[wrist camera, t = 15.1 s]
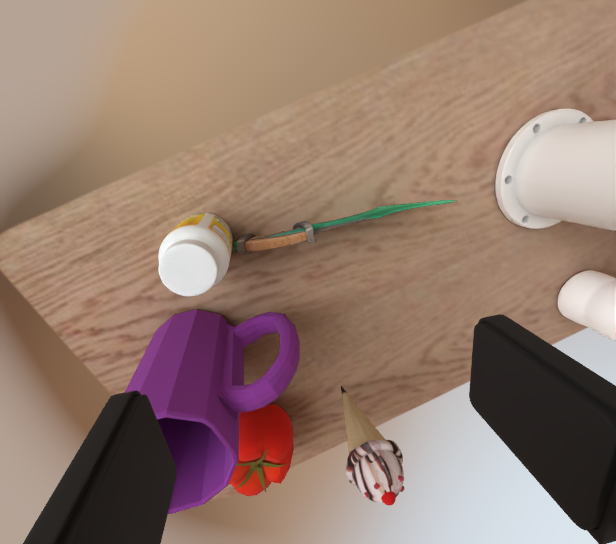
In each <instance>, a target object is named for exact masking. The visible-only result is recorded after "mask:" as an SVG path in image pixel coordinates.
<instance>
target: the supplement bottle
mask: <svg viewBox="0 0 616 544" xmlns="http://www.w3.org/2000/svg"><path fill="white" fill-rule="evenodd" d="M232 244H233V238H232V233H231V231H230V229H229V227H228V225H227V224H226V223H225V222H224V221H223V220H222V219H221V218H219V217H217V216H215V215H213V214H209V213H197V214H193V215H191V216H189V217H187V218H186V219H184V220H183V221H182V222H181V223H180V224H179V225H178V226H177V227H176V228H175V229H174V230H173V231H171V232H170V233H169V234H168V235H167V236H166V238H165V239H164V240H163V242H162V244H161V246H160V249H159V274H160V278H161V280H162V282H163V283H164V285H165V286H166V287H167V288H168V289H169V290H171V291H172V292H174V293H176V294H179V295H182V296H197V295H200V294H203V293H205V292H206V291H208V290H209V289H210V288H211V287H212V286H214V285H216V284H217V283H218V282H220V281H221V280H222V278H223V277H224V276H225V274H226V272H227V270H228V267H229V263H230V257H231V251H232Z"/></svg>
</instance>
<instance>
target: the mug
mask: <svg viewBox="0 0 616 544" xmlns="http://www.w3.org/2000/svg"><path fill="white" fill-rule="evenodd" d="M277 332H279V335H280V351H279V354H278V357H277V359H276V360H275V362H274V363H273V365H272V366H271V367H270V369H269V370H268V371H267V372H266V373H265V375H264V376H263V377H261V378H260V379H258V380H257V381H255V382H254V383H252V384H249V385H244V360H243V348H244V347H245V346H247V345H249V344H251V343H254V342H255V341H256V340H258V339H259V338H260V337H262V336H263V335H267V334H271V333H277ZM298 362H299V338H298V334H297V331H296V328H295V325H294V324H293V323H292V322H291V321H290V319H289V318H288V317H287V316H286V315H285V314H283V313H274V312H267V313H264V314H260V315H257V316H255V317H252V318H250V319H248V320H246V321H244V322H242V323H240V324H239V325H237V326H231V325H229V324H228V322H227V321H226V319H225V318H223V317H222V316H221V315H219V314H215V313H211V312H207V311H203V310H199V309H196V310H192V311H188V312H183V313H179V314H175V315H173V316H172V317H171V318H170V319H169V320H167V321H166V322H165V323H164V324H163V325H162V326H161V327H159V328H158V329H157V331H156V332H155V334H154V336H153V338H152V340H151V342H150V344H149V346H148V348H147V350H146V352H145V354H144V356H143V358H142V360H141V362H140V364H139V366H138V368H137V369H136V371H135V373H134V375H133V377H132V379H131V381H130V383H129V385H128V387H127V389H126V391H125V392H130V391H135V390H136V391H139V392H140V394H141V395H143V394H145V395H147V396H148V398H149V401H150V403H151V406H152V408H153V411H154V413H155V416H156V418H157V421H158V423H159V426H160V428H161V431H162V433H163V435H164V438H165V440H166V443H167V445H168V448H169V450H170V453H171V455H172V458H173V460H174V463H175V466H176V481H175V485H174V489H173V494H172V498H171V502H170V506H169V510H168V514H172V513H176V512H179V511H182V510H186V509H189V508H192V507H195V506H199V505H203V504H205V503H206V502H207V501H208V500H210V499H211V498H212V497H214V496H215V495H216V494H217V493H219V492H220V491H221V490H223V489H224V488H225V487H226V486H228V484H229V482H230V480H231V477H232V474H233V472H234V469H235V467H236V464H237V462H238V459H239V415H240V413H241V412H249V411H253V410H256V409H259V408H262V407H265V406H266V405H268V404H269V403H271V402H272V401H274V400H275V399H277V398H278V397H279V396H280V395H281V394H282V393H283V391H284V390H285V389H286V388H287V386H288V385H289V383H290V381H291V379H292V378H293V376H294V374H295V372H296V369H297V365H298Z"/></svg>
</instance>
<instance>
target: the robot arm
mask: <svg viewBox="0 0 616 544" xmlns="http://www.w3.org/2000/svg"><path fill="white" fill-rule="evenodd" d="M495 188H496V197H497V201H498V205H499V207H500V209H501V211H502V213H503V214H504V215H505V216H506V218H507V219H509V220H510V221H511V222H513V223H514V224H517V225H519V226H522V227H526V228H530V229H541V228H546V227H550V226H552V225H555V224H557V223H559V222H561V221H568V222H573V223H578V224H583V225H588V226H593V227H598V228H603V229H608V230H613V231H616V120H606V121H596V122H594V121H593V120H592V119H591V118H590V117H589V116H588V115H586V114H585V113H583V112H581V111H578V110H575V109H558V110H552V111H548V112H545V113H542V114H540V115H538V116H536V117H535V118H533V119H531V120H530V121H528V122H527V123H526V124H525V125H524V126H523V127H521V128H520V129H519V131H518V132H517V133H516V134H515V135H514V136H513V138H512V139H511V140H510V142H509V144H508V145H507V147H506V148H505V150H504V153H503V155H502V157H501V159H500V162H499V166H498V169H497V174H496V182H495ZM469 397H470V401H471V404H472V405H473V407H474V408H475V410H476V411H477V412H478V413H479V414H480V415H481V416H482V418H483V419H484V420H485V421H486V422H487V424H488V425H489V426H490V427H491V428H492V429H493V430H494V432H496V434H497V435H498V436H499V437H500V438H501V439H502V441H503V442H504V443H505V444H506V445H507V446H508V447H509V449H510V450H511V451H512V452H513V453H514V454H515V456H516V457H517V458H518V459H519V460H520V461H521V462H522V464H523V465H524V466H525V467H526V468H527V469H528V470H529V472H530V473H531V474H532V475H533V476H534V477H535V478H536V480H537V481H538V482H539V483H540V484H541V485H542V487H543V488H544V489H545V490H546V491H547V492H548V493H549V495H551V497H552V498H553V499H554V500H555V501H556V502H557V504H558V505H559V506H560V507H561V508H562V509H563V511H564V512H565V513H566V514H567V515H568V516H569V517H570V519H571V520H572V521H573V522H574V523H575V524H576V525H577V526H579V527H580V528H581V529H584V530H587V531H588V532H589V533H590V534H591V535H592V536H593V538H594V539H595V540H596V541H597V542H598V543H599V544H607V543H610V542H613V541H616V386H615V385H613V384H612V383H610V382H608V381H607V380H605V379H604V378H602V377H601V376H599V375H597V374H596V373H594V372H593V371H591V370H589V369H588V368H586V367H585V366H583V365H582V364H580V363H579V362H577V361H575V360H574V359H572V358H571V357H569V356H567V355H566V354H564V353H563V352H561V351H560V350H558V349H557V348H555V347H553V346H552V345H550V344H549V343H547V342H546V341H544V340H542V339H541V338H539V337H538V336H536V335H535V334H533V333H531V332H530V331H528V330H527V329H525V328H524V327H522V326H520V325H519V324H517V323H516V322H514V321H513V320H511V319H509V318H508V317H506V316H504V315H495V316H490V317H485V318H482V319H480V320H479V322H478V324H477V325H476V326H475V328H474V339H473V353H472V366H471V380H470V393H469ZM175 481H176V466H175V463H174V460H173V458H172V455H171V453H170V450H169V448H168V445H167V443H166V440H165V438H164V435H163V433H162V431H161V428H160V426H159V423H158V421H157V418H156V416H155V413H154V411H153V408H152V406H151V403H150V401H149V398H148V396H147V395H145V394H143V395H141V394H140V392H139V391H136V390H135V391H130V392H125V393H121V394H116V395H113V396H111V397H110V399H109V400H108V402H107V403H106V405H105V407H104V408H103V410H102V412H101V414H100V415H99V417H98V419H97V420H96V422H95V424H94V425H93V427H92V429H91V430H90V432H89V434H88V435H87V437H86V439H85V440H84V442H83V444H82V445H81V447H80V449H79V450H78V452H77V454H76V455H75V457H74V459H73V460H72V462H71V464H70V466H69V467H68V469H67V471H66V472H65V474H64V476H63V477H62V479H61V481H60V483H59V484H58V486H57V487H56V489H55V491H54V492H53V494H52V496H51V497H50V499H49V501H48V503H47V504H46V506H45V507H44V509H43V511H42V512H41V514H40V516H39V518H38V519H37V521H36V522H35V524H34V526H33V528H32V529H31V531H30V533H29V534H28V536H27V538H26V539H25V541H24V543H23V544H160V543H161V539H162V534H163V531H164V526H165V522H166V518H167V514H168V510H169V506H170V502H171V498H172V494H173V489H174V485H175Z"/></svg>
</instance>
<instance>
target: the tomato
mask: <svg viewBox="0 0 616 544" xmlns="http://www.w3.org/2000/svg"><path fill="white" fill-rule="evenodd" d="M293 450H294V446H293V427H292V424H291V420H290V418H289V416H288V414H287V413H286V412H285V411H284V410H283V409H282V408H280V407H279V406H278V405H276V404H268V405H266V406H265V407H262V408H259V409H256V410H253V411H249V412H241V413H240V415H239V459H238V462H237V464H236V467H235V469H234V472H233V474H232V477H231V480H230V482H229V484H232V486H233V487H234V488H235V489H236V490H237V491H238V492H239V493H241V494H244V495H246V496H252V495H257V494H259V493H260V492H262V491H263V490H265V491H266V488H267V487H268V486H269V485H270V484H271V482H275V483H281V482H282V481H283V479H284V478H285V476H286V474H287V472H288V470H289V468H290V464H291V459H292V454H293Z"/></svg>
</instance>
